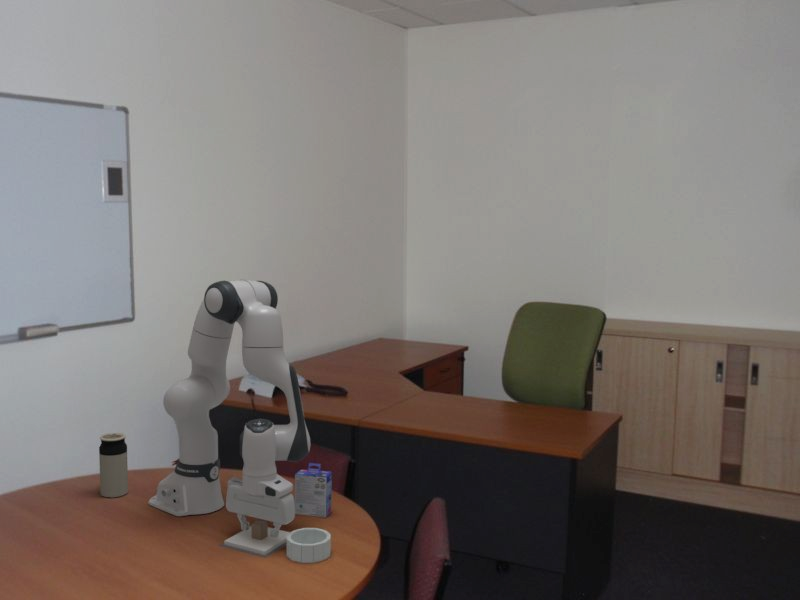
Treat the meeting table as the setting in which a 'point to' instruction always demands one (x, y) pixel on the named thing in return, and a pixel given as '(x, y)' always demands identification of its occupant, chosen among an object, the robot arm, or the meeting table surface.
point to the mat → (253, 552)
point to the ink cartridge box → (313, 492)
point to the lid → (257, 538)
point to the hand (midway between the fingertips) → (259, 533)
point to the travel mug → (113, 465)
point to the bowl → (308, 545)
